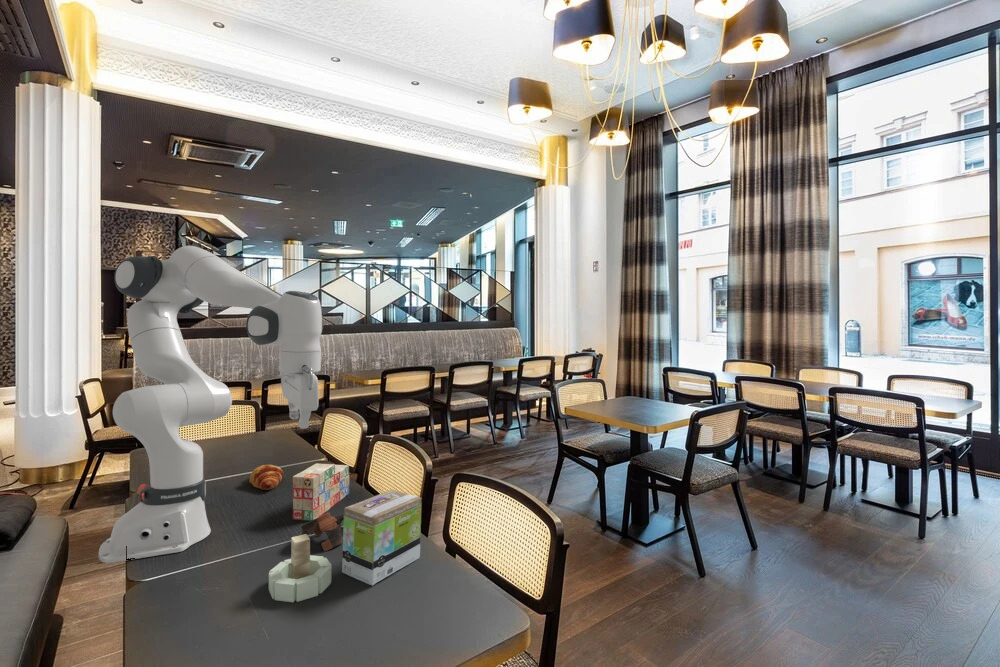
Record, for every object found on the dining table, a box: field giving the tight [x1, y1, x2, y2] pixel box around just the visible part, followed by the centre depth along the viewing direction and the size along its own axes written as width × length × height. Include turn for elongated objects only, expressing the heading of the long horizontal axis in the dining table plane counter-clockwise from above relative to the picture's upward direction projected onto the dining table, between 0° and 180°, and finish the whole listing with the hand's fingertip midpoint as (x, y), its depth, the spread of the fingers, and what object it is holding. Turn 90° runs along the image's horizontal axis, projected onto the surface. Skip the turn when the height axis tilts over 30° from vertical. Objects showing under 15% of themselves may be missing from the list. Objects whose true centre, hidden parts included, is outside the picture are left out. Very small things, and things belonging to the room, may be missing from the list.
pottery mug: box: [300, 511, 344, 553], centre depth 121 cm, size 12×10×8 cm
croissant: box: [249, 464, 285, 491], centre depth 163 cm, size 21×10×8 cm, turn 32°
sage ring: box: [268, 554, 332, 603], centre depth 101 cm, size 12×12×4 cm
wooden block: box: [290, 534, 311, 579], centre depth 101 cm, size 3×3×10 cm
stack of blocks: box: [292, 462, 350, 522], centre depth 144 cm, size 21×6×12 cm, turn 171°
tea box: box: [341, 489, 422, 586], centre depth 110 cm, size 15×10×15 cm, turn 148°
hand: (298, 423), depth 111 cm, fingers open, 8 cm apart
